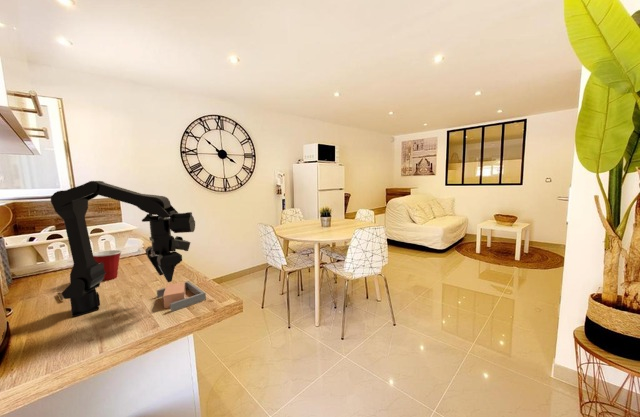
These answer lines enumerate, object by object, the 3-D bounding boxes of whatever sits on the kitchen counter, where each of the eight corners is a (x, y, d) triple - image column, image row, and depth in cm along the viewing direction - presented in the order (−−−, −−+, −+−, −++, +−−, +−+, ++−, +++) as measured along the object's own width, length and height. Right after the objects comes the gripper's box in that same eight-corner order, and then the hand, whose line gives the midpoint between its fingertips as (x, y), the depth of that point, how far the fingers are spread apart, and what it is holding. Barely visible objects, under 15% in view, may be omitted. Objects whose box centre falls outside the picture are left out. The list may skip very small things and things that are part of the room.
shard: (62, 304, 90) (61, 299, 90) (39, 305, 90) (38, 300, 89) (88, 290, 101) (87, 286, 101) (67, 291, 100) (67, 287, 100)
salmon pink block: (164, 308, 85) (163, 295, 84) (167, 296, 94) (166, 284, 93) (184, 304, 87) (183, 292, 87) (185, 293, 96) (184, 281, 96)
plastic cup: (130, 274, 116) (127, 249, 114) (104, 284, 105) (101, 256, 104) (113, 272, 119) (110, 247, 117) (86, 281, 108) (82, 254, 107)
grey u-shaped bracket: (171, 311, 82) (171, 304, 82) (157, 296, 93) (156, 290, 93) (206, 299, 90) (205, 292, 90) (189, 287, 101) (188, 281, 101)
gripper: (196, 233, 85) (200, 278, 87) (177, 226, 98) (181, 266, 100) (158, 239, 77) (163, 289, 79) (143, 231, 90) (147, 274, 92)
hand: (165, 278), depth 87 cm, fingers open, 9 cm apart
